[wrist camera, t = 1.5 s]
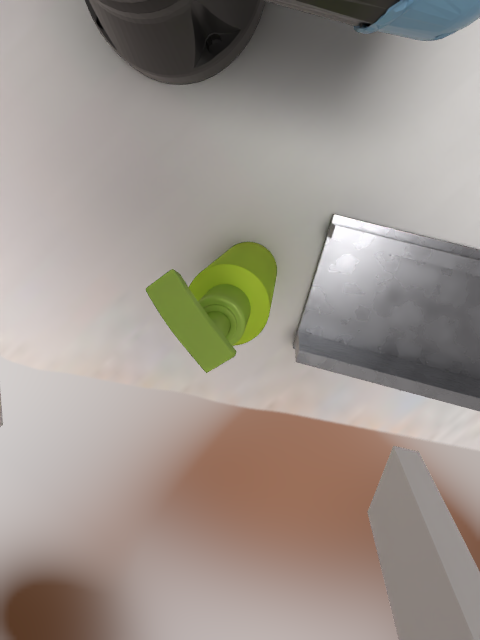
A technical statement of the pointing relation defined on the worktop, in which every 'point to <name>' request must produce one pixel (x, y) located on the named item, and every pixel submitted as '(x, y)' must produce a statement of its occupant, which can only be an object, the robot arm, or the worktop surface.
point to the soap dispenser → (218, 303)
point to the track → (395, 312)
